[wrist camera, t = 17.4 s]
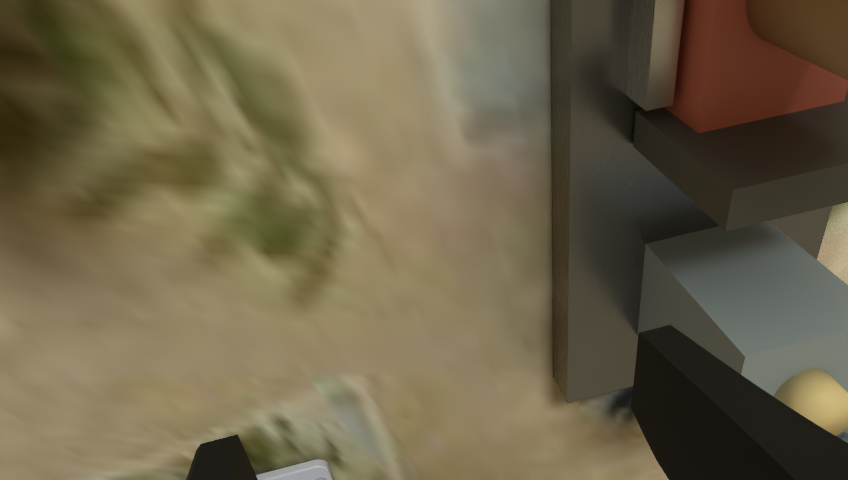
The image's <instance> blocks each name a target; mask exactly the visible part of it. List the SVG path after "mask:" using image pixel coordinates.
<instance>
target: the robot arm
mask: <svg viewBox="0 0 848 480" xmlns="http://www.w3.org/2000/svg"><path fill="white" fill-rule="evenodd" d="M631 408H632V411H633V413H634V415H635V417H636V419H637V421H638V423H639V425H640V427H641V430H642V432H643V434H644V436H645V438H646V440H647V442H648V444H649V446H650V448H651V450H652V452H653V454H654V456H655V458H656V460H657V461H658V463H659V465H660V466H661V468H662V469H663V471H664V473H665V474H666V476H667V477H668V479H669V480H848V443H846V442H845V441H843V440H841V439H840V438H838V437H837V436H835V435H833V434H832V433H830V432H828V431H827V430H825V429H823V428H822V427H820V426H818V425H817V424H815V423H813V422H812V421H810V420H809V419H807V418H805V417H804V416H802V415H801V414H799V413H798V412H796V411H795V410H793V409H791V408H790V407H788V406H787V405H785V404H784V403H782V402H781V401H779V400H778V399H776V398H775V397H773V396H772V395H770V394H769V393H767V392H766V391H764V390H763V389H761V388H760V387H758V386H757V385H755V384H754V383H753V382H751V381H750V380H748V379H747V378H745V377H744V376H742V375H741V374H739V373H738V372H737V371H735V370H734V369H732V368H731V367H730V366H728V365H727V364H725V363H724V362H722V361H721V360H720V359H718V358H717V357H715V356H714V355H713V354H711V353H710V352H708V351H707V350H706V349H704V348H703V347H701V346H700V345H698V344H697V343H696V342H694V341H693V340H691V339H690V338H689V337H687V336H686V335H684V334H683V333H682V332H680V331H679V330H677V329H676V328H674V327H673V326H671V325H667V326H663V327H659V328H655V329H651V330H647V331H643V332H639V334H638V344H637V354H636V364H635V375H634V385H633V395H632V405H631ZM186 480H333V477H332V474H331V471H330V468H329V465H328V463H327V462H326V461H324V460H320V459H317V460H312V461H308V462H304V463H300V464H296V465H293V466H289V467H285V468H281V469H277V470H273V471H270V472H266V473H262V474H258V475H256V474H255V472H254V470H253V468H252V466H251V463H250V461H249V459H248V457H247V455H246V452H245V450H244V448H243V446H242V443H241V441H240V439H239V437H238V435H234V436H230V437H227V438H223V439H219V440H215V441H211V442H207V443H203V444H201V445H200V446H199V447H198V449H197V450H196V453H195V456H194V459H193V462H192V465H191V468H190V471H189V474H188V477H187V479H186Z"/></svg>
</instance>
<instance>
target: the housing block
mask: <svg viewBox="0 0 848 480" xmlns="http://www.w3.org/2000/svg"><path fill="white" fill-rule="evenodd" d="M667 325H671V326H673V327H674V328H676V329H677V330H679V331H680V332H682V333H683V334H684V335H686V336H687V337H689V338H690V339H691V340H693V341H694V342H696V343H697V344H698V345H700V346H701V347H703V348H704V349H706V350H707V351H708V352H710V353H711V354H713V355H714V356H715V357H717V358H718V359H720V360H721V361H722V362H724V363H725V364H727V365H728V366H730V367H731V368H732V369H734V370H735V371H737V372H738V373H739V374H741V375H742V376H744V377H745V378H747V379H748V380H750V381H751V382H753V383H754V384H755V385H757V386H758V387H760V388H761V389H763V390H764V391H766V392H767V393H769V394H770V395H772V396H773V397H775V398H776V399H778V400H779V401H781V402H782V403H784V404H785V405H787V406H788V407H790V408H791V409H793V410H795V411H796V412H798V413H799V414H801V415H802V416H804V417H805V418H807V419H809V420H810V421H812V422H813V423H815V424H817V425H818V426H820V427H822V428H823V429H825V430H827V431H828V432H830V433H832V434H833V435H835V436H836V435H838V434H839V433H841V432H842V431H844V430H845V429H846V428H847V427H848V285H847V284H845V283H844V282H843V281H842V280H841V279H839V278H838V277H837V276H836V275H834V274H833V273H832V272H831V271H830V270H828V269H827V268H826V267H825V266H824V265H822V264H821V263H820V262H819V261H817V260H816V259H815V258H814V257H813V256H811V255H810V254H809V253H808V252H806V251H805V250H804V249H803V248H802V247H800V246H799V245H798V244H797V243H795V242H794V241H793V240H792V239H791V238H789V237H788V236H787V235H786V234H785V233H783V232H782V231H781V230H780V229H778V228H777V227H776V226H775V225H774V224H772V223H771V222H770V221H766V222H762V223H758V224H754V225H750V226H745V227H741V228H737V229H733V230H729V231H725V230H723V229H722V228H721V227H720V226H717V227H713V228H709V229H704V230H700V231H696V232H692V233H688V234H684V235H680V236H676V237H672V238H668V239H663V240H659V241H655V242H651V243H647V244H646V245H645V256H644V267H643V278H642V289H641V300H640V311H639V322H638V334H639V332H643V331H647V330H651V329H655V328H659V327H663V326H667ZM638 334H637V336H638Z"/></svg>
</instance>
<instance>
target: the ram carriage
mask: <svg viewBox="0 0 848 480" xmlns="http://www.w3.org/2000/svg"><path fill="white" fill-rule="evenodd" d="M633 147H634V148H635V149H636V150H637V151H639V152H640V153H641V154H642V155H643V156H644V157H645V158H646V159H647V160H648V161H649V162H651V163H652V164H653V165H654V166H655V167H656V168H657V169H658V170H659V171H660V172H661V173H663V174H664V175H665V176H666V177H667V178H668V179H669V180H670V181H671V182H672V183H673V184H674V185H676V186H677V187H678V188H679V189H680V190H681V191H682V192H683V193H684V194H685V195H686V196H688V197H689V198H690V199H691V200H692V201H693V202H694V203H695V204H696V205H697V206H698V207H700V208H701V209H702V210H703V211H704V212H705V213H706V214H707V215H708V216H709V217H710V218H712V219H713V220H714V221H715V222H716V223H717V224H718V225H719V226H720V227H721V228H722V229H723V230H725V231H729V230H733V229H737V228H741V227H745V226H750V225H754V224H758V223H762V222H766V221H770V220H775V219H779V218H783V217H787V216H791V215H795V214H800V213H804V212H808V211H812V210H816V209H820V208H825V207H829V206H833V205H837V204H841V203H845V202H848V0H684V9H683V18H682V27H681V36H680V46H679V55H678V64H677V73H676V82H675V91H674V100H673V105H672V106H667V107H663V108H658V109H653V110H649V111H645V110H644V109H641V110H636V116H635V130H634V143H633Z"/></svg>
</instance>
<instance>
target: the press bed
mask: <svg viewBox="0 0 848 480" xmlns="http://www.w3.org/2000/svg"><path fill="white" fill-rule="evenodd" d="M683 9H684V0H551V102H552V253H553V377H554V379H555V381H556V383H557V385H558V387H559V389H560V390H561V392H562V394H563V396H564V398H565V400H566V402H567V403H571V402H574V401H578V400H582V399H586V398H590V397H593V396H597V395H601V394H605V393H609V392H612V391H616V390H620V389H624V388H628V387H631V386H633V385H634V375H635V364H636V354H637V344H638V336H637V334H638V322H639V311H640V300H641V289H642V278H643V267H644V256H645V245H646V244H647V243H651V242H655V241H659V240H663V239H668V238H672V237H676V236H680V235H684V234H688V233H692V232H696V231H700V230H704V229H709V228H713V227H717V226H719V225H718V224H717V223H716V222H715V221H714V220H713V219H712V218H710V217H709V216H708V215H707V214H706V213H705V212H704V211H703V210H702V209H701V208H700V207H698V206H697V205H696V204H695V203H694V202H693V201H692V200H691V199H690V198H689V197H688V196H686V195H685V194H684V193H683V192H682V191H681V190H680V189H679V188H678V187H677V186H676V185H674V184H673V183H672V182H671V181H670V180H669V179H668V178H667V177H666V176H665V175H664V174H663V173H661V172H660V171H659V170H658V169H657V168H656V167H655V166H654V165H653V164H652V163H651V162H649V161H648V160H647V159H646V158H645V157H644V156H643V155H642V154H641V153H640V152H639V151H637V150H636V149H635V148H634V147H633V143H634V130H635V116H636V110H641V109H644V110H645V111H649V110H653V109H658V108H663V107H667V106H672V105H673V100H674V91H675V82H676V73H677V64H678V55H679V46H680V36H681V27H682V18H683ZM831 208H832V206H829V207H825V208H820V209H816V210H812V211H808V212H804V213H800V214H795V215H791V216H787V217H783V218H779V219H775V220H770V222H771V223H772V224H774V225H775V226H776V227H777V228H778V229H780V230H781V231H782V232H783V233H785V234H786V235H787V236H788V237H789V238H791V239H792V240H793V241H794V242H795V243H797V244H798V245H799V246H800V247H802V248H803V249H804V250H805V251H806V252H808V253H809V254H810V255H811V256H813V257H814V258H815V259H816V260H817V256H818V253H819V249H820V246H821V243H822V239H823V236H824V232H825V229H826V225H827V222H828V219H829V215H830V212H831Z"/></svg>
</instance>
